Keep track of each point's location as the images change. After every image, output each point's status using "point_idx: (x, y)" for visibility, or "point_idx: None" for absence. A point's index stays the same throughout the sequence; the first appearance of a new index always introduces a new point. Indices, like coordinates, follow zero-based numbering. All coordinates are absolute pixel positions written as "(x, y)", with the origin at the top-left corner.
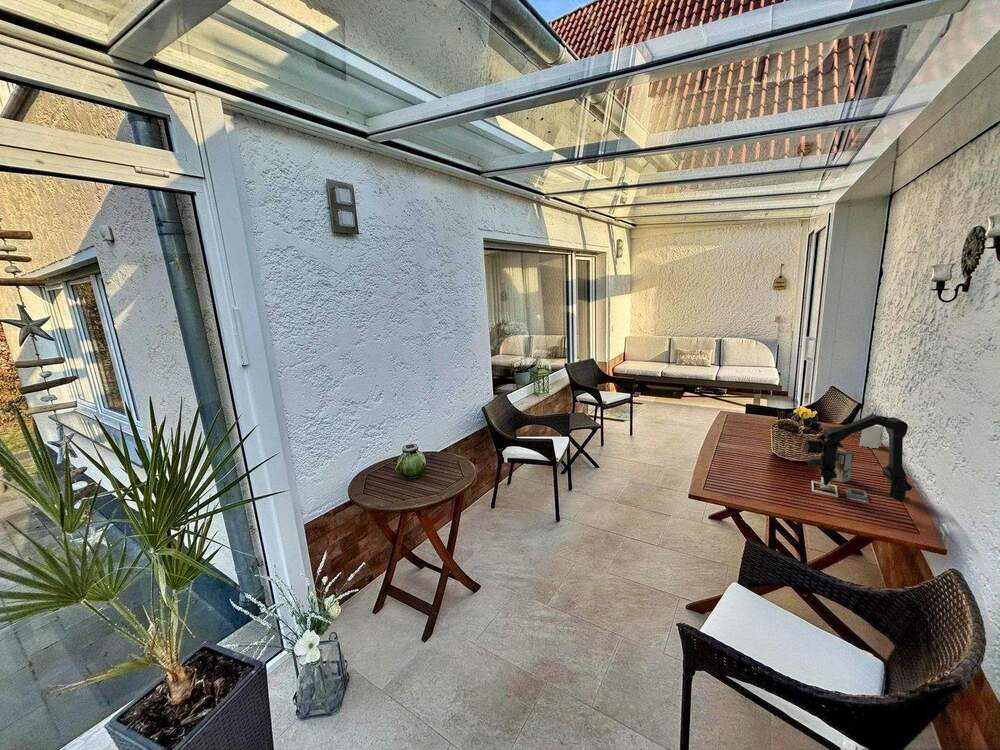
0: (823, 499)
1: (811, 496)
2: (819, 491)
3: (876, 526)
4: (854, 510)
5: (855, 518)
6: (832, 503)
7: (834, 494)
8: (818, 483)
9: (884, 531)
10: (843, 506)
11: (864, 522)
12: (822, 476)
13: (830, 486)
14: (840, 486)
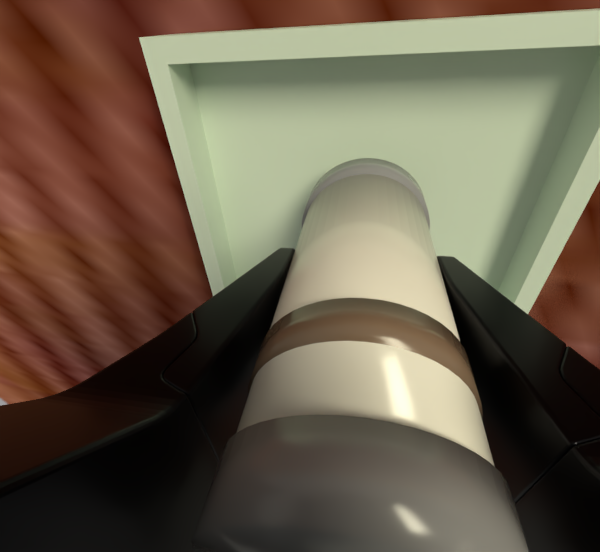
0: (109, 175)
1: (64, 30)
2: (174, 149)
3: (21, 382)
4: (113, 344)
5: (4, 329)
6: (94, 242)
7: (217, 291)
8: (576, 142)
9: (7, 393)
10: (114, 302)
11: (5, 354)
12: (290, 327)
13: (509, 277)
14: (582, 348)
